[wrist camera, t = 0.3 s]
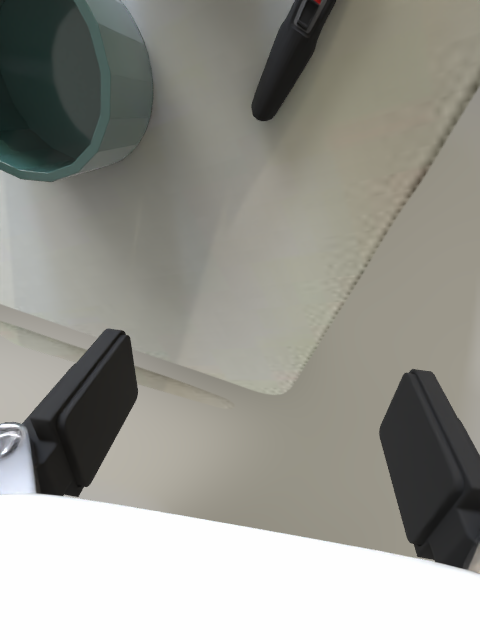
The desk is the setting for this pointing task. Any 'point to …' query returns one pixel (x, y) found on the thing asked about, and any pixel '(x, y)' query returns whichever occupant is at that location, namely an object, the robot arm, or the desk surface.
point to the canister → (70, 87)
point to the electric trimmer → (289, 55)
